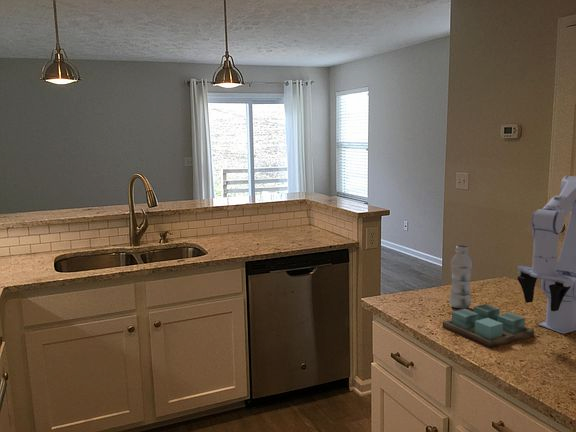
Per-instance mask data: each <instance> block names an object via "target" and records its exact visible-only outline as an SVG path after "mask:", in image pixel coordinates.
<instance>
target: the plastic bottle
mask: <svg viewBox="0 0 576 432" xmlns="http://www.w3.org/2000/svg"><path fill="white" fill-rule="evenodd" d="M472 269H473V261H472V259H471V257H470V256H469V246H468V245H463V244H460V245H456V246H455V254H454V255H453V256H452V258H451V260H450V270H451V272H450V273H451V285H450V286H451V288H450V293H449V297H448V300H449V305H450V306H451V307H452V308H455V309H458V310H461V309H469V308H470V307H471V304H472V296H471V274H472Z"/></svg>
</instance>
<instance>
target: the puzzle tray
mask: <svg viewBox="0 0 576 432" xmlns="http://www.w3.org/2000/svg"><path fill="white" fill-rule="evenodd" d="M500 311H501V310H500V308H498V307H495V306H492V305H491V304H488V303H484V304H479V305H475V306H473V311H472V310H470V309H468V308H466V309H457V310H454V311H451V319H447V320H443V321H442V328H445V329H447V330H449V331H451V332H453V333H455V334H458V335H460V336H463V337H465V338H467V339H469V340H470V341H473V342H475V343H478V344H480V345H482V346H484V347H485V348H486V347H487V348H489V349H492V348H495V347H499V346H502V345H505V344H509V343H513V342H515V341H516V342H517V341H520V340H523V339H527V338H530V337H534V336H535V329H532V328H530V327H527V326H525V325H526V318H525V317H523V316H520V315H518V314H515V313H512V312H507V313H503V314H500ZM485 318H490V319H493V320H495V321H498V322H501V323H503V333H502V337H499V338H496V339H492V340H488V339H486V338H484V337H481V336H479V335H477V334H474V330H475V321H477V320H481V319H485Z"/></svg>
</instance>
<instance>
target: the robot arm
mask: <svg viewBox="0 0 576 432" xmlns="http://www.w3.org/2000/svg"><path fill="white" fill-rule="evenodd" d="M559 188H560V191H559V192H560V193H559V194H557V195H554V196H552V197H551V198H550V199H549V201H547V202H546V204H545V205H544V206H543V207H542V208H538V209H537V210H534V211H533V212H532V215H531V218H530V228H531V236H532V238H533V243H532V244H533V246H532V261H531V264H532V265H531V266H525V265H518V266H517V272H516V274H518V275H519V276H517V281H518V282H519V284H520V286H521V290H522V292H523V296H524V297H523V298H524V301H525V303H527V304H530V303H532V302H533V301H534V295H535V287H536V284H537V280H539V279H540V280H541V282H540V287H541V290H542V292H543V293H545V294H544V296H545V297H547V298H546V311H545V313H546V314H545V320H544V321H543V322H538V326H541V327H543V328H545V329H549V330H552V331H554V332H557V333H560V334H567V333H571V332H575V331H576V176H573V175H572V176H571V175H565V176H563V178H562V179H561V182H560V187H559ZM569 214H570V217H569V220H568V224H567V228H566V230H565V231H566V232H565V235H564V238H563V242H562V246H561V250H560V253H559V239H560V238H559V237H560V234H561V232H562V230H563V228H564V224H565V223H566V218H567V217H568V215H569ZM558 253H559V257H558Z"/></svg>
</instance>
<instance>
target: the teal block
mask: <svg viewBox="0 0 576 432" xmlns="http://www.w3.org/2000/svg"><path fill="white" fill-rule="evenodd" d="M502 333H503V323H501V322H498V321H495V320H493V319H490V318H485V319H481V320H477V321H475V330H474V334H477V335H479V336H481V337H484V338H486V339H488V340H492V339H496V338H499V337H502Z"/></svg>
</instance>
